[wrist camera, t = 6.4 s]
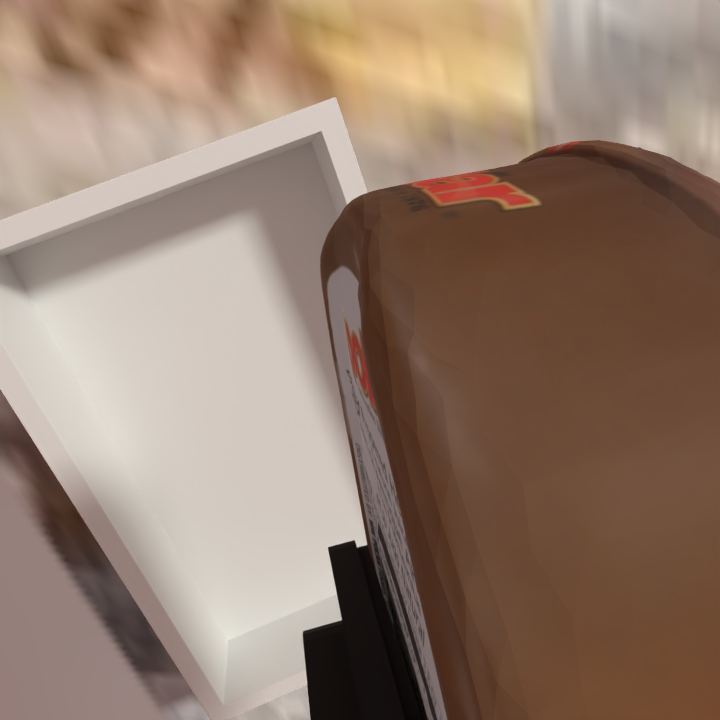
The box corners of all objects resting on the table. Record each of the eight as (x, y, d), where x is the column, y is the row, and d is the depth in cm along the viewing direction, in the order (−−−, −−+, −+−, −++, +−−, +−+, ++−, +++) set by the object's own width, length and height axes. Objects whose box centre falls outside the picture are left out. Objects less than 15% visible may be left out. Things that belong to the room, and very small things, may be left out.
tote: (-17, 241, 21) (-87, 252, 17) (321, 116, 22) (335, 96, 17) (221, 645, 28) (214, 725, 24) (467, 540, 29) (502, 599, 25)
